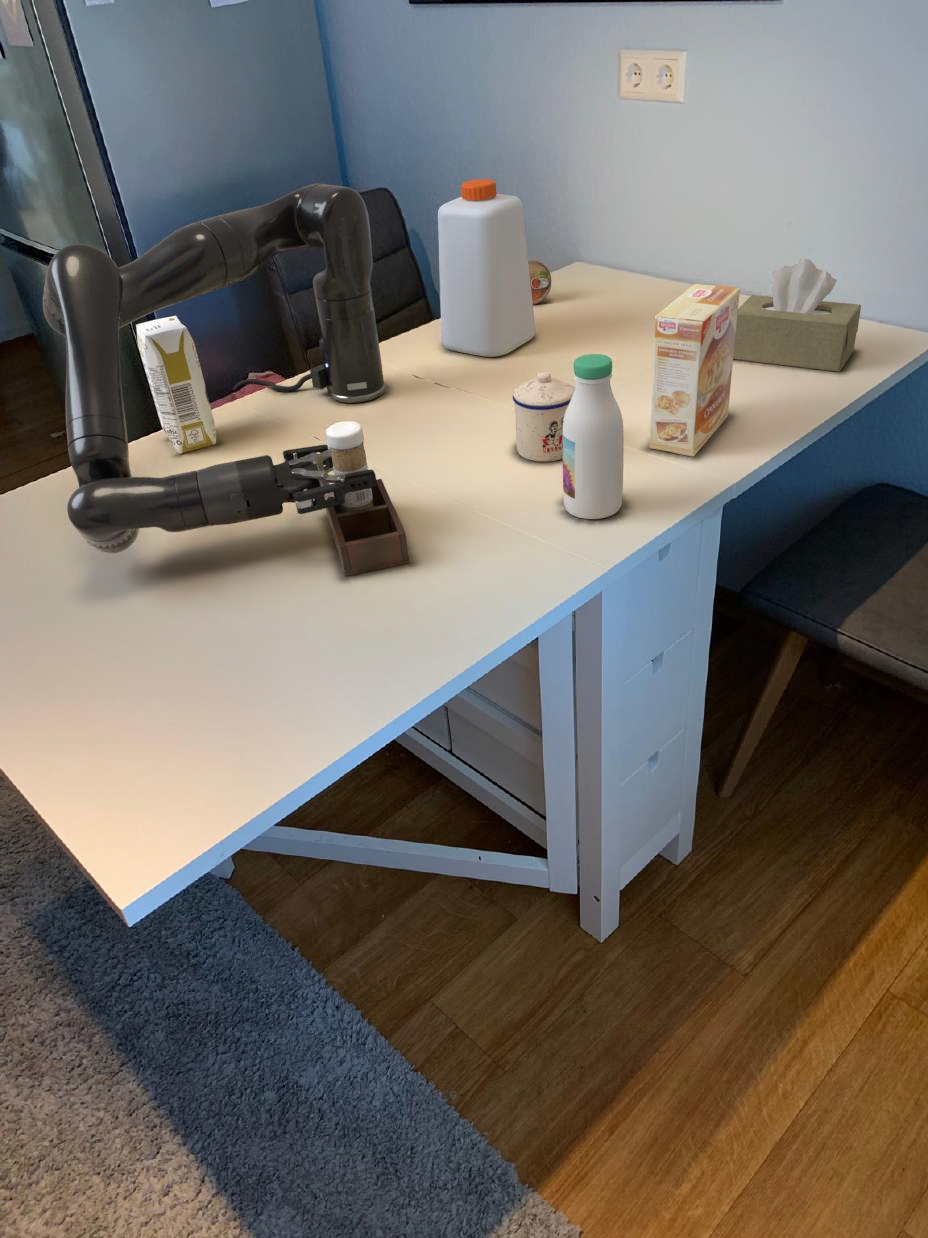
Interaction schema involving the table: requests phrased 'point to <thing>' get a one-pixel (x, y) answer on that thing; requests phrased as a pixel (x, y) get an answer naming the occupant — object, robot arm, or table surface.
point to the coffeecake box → (693, 367)
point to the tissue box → (797, 322)
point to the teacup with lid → (541, 417)
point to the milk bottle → (593, 442)
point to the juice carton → (176, 383)
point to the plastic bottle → (484, 272)
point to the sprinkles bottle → (349, 460)
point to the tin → (539, 281)
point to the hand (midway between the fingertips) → (370, 466)
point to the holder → (369, 535)
